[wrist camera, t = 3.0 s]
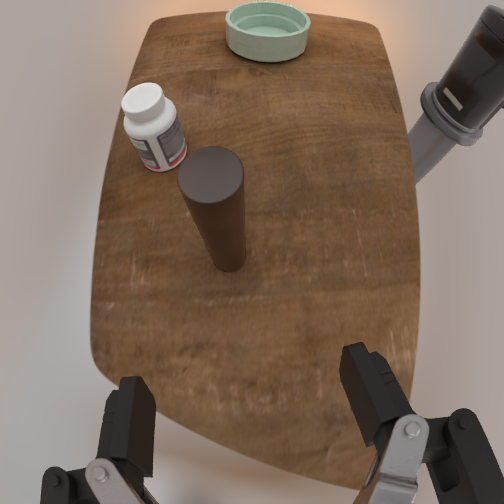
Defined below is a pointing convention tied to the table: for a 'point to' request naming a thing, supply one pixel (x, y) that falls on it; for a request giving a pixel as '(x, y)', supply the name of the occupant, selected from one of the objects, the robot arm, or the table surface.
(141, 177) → the table surface
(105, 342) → the table surface
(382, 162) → the table surface
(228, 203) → the dark cylinder
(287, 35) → the bowl
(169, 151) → the pill bottle
